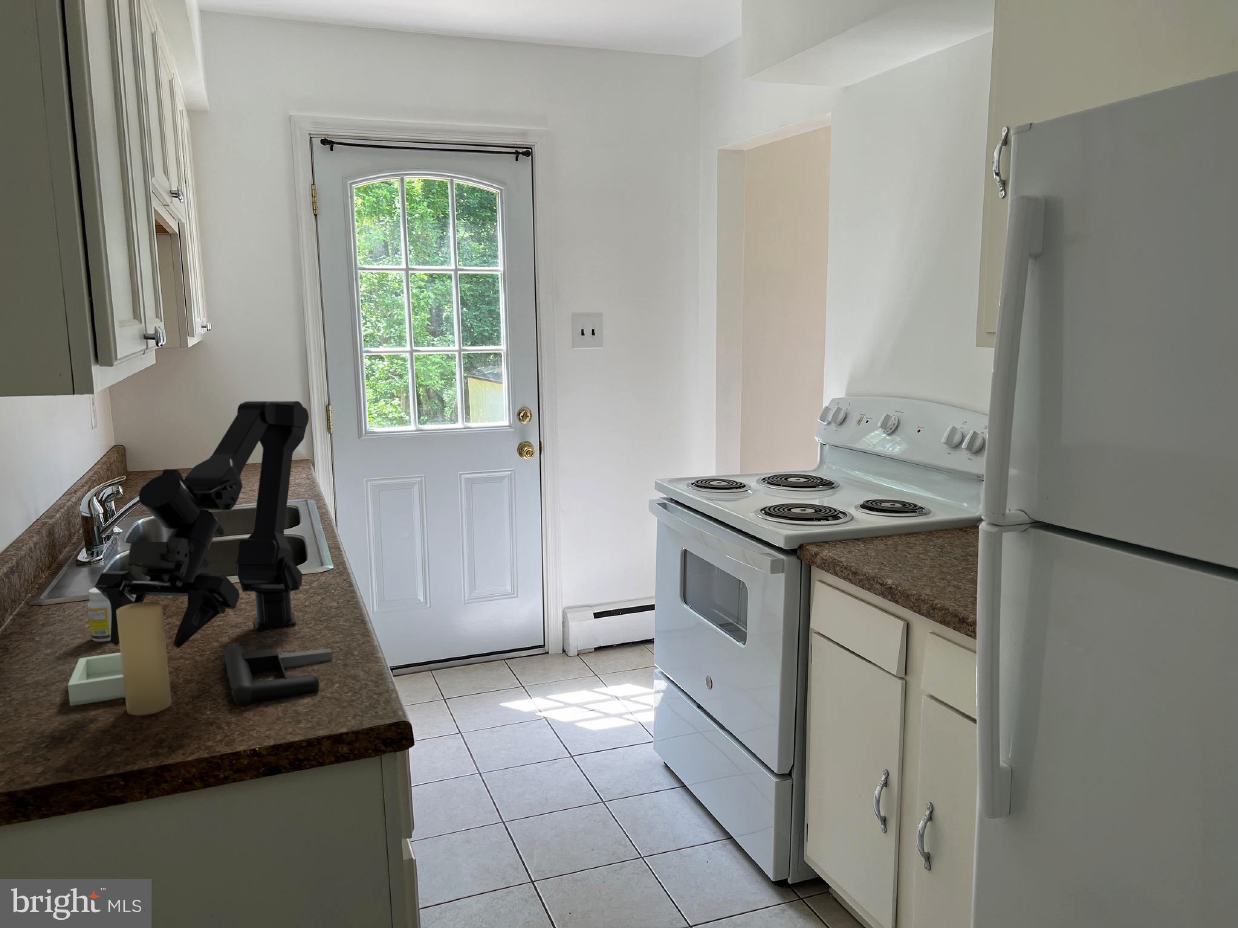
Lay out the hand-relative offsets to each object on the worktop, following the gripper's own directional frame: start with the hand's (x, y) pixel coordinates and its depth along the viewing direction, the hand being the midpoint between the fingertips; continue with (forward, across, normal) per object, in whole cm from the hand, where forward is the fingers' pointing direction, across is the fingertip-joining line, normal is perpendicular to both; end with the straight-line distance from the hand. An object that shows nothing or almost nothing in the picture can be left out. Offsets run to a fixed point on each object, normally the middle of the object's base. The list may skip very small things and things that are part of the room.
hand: (144, 645), depth 121 cm
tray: (+2, -9, +11) cm, 14 cm away
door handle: (-2, +12, +15) cm, 20 cm away
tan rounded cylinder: (+6, 0, +6) cm, 9 cm away
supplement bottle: (-12, -25, +24) cm, 36 cm away
